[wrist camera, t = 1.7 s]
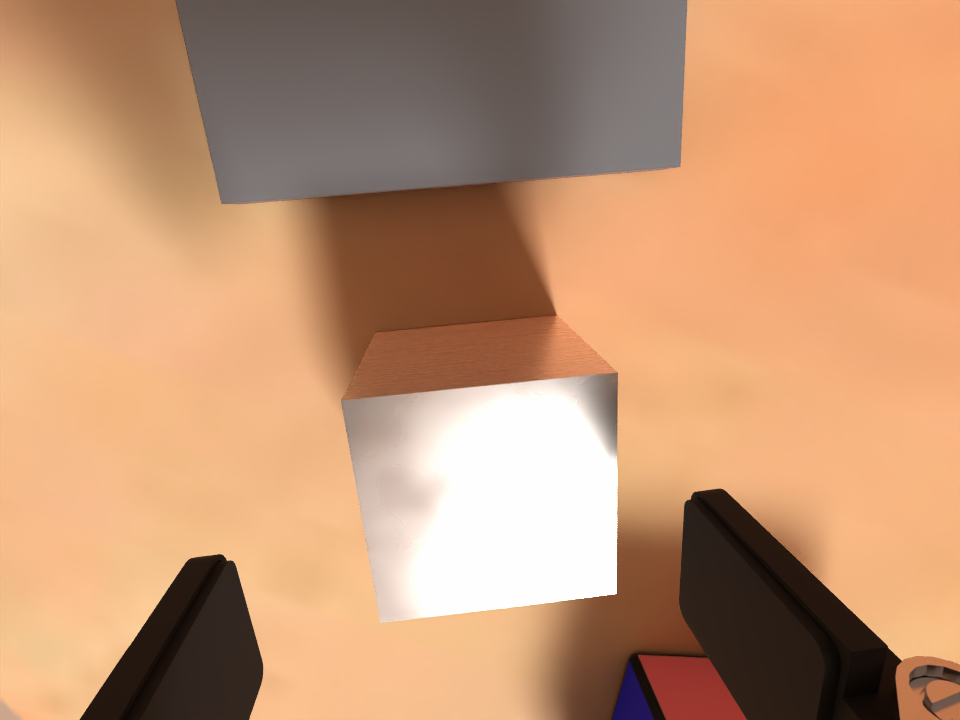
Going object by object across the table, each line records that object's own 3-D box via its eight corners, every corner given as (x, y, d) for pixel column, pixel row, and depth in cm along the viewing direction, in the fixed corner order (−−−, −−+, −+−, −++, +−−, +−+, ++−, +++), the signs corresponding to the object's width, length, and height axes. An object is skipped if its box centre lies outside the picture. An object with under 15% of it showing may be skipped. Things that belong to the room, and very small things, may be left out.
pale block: (556, 315, 18) (617, 372, 12) (562, 474, 20) (616, 593, 14) (375, 332, 18) (341, 400, 12) (399, 492, 20) (380, 623, 14)
